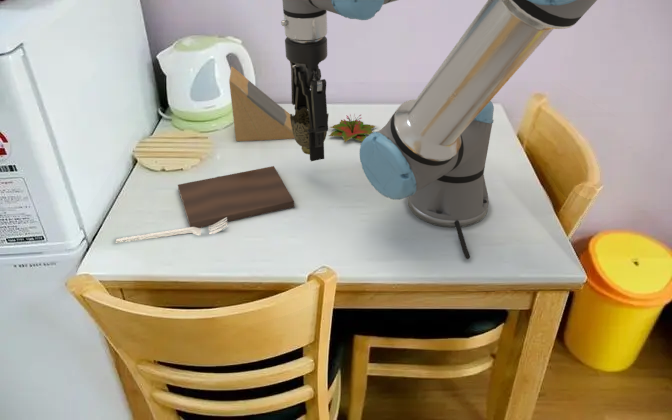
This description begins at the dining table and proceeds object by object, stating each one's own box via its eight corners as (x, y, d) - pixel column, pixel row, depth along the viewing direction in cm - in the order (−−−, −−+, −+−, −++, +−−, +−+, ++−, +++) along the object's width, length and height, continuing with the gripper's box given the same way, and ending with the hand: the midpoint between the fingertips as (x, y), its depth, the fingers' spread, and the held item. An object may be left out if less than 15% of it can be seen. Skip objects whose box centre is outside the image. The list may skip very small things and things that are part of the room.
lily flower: (337, 118, 146) (337, 101, 144) (384, 126, 143) (385, 108, 140) (319, 140, 137) (319, 122, 135) (369, 149, 134) (369, 131, 131)
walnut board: (294, 207, 115) (294, 200, 115) (190, 229, 110) (189, 223, 109) (274, 171, 126) (273, 165, 125) (178, 190, 120) (177, 184, 119)
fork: (117, 238, 108) (114, 230, 107) (227, 223, 112) (226, 215, 111) (115, 249, 106) (113, 241, 105) (229, 234, 109) (228, 225, 108)
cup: (316, 163, 115) (315, 125, 110) (285, 155, 118) (282, 118, 113) (336, 147, 120) (335, 111, 116) (305, 140, 123) (303, 104, 119)
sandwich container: (302, 138, 138) (300, 77, 129) (235, 141, 137) (228, 80, 128) (300, 121, 145) (298, 62, 136) (237, 124, 144) (230, 65, 135)
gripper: (270, 23, 112) (278, 132, 125) (303, 58, 97) (309, 178, 110) (307, 18, 115) (311, 126, 128) (346, 51, 99) (346, 170, 112)
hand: (310, 150), depth 119 cm, fingers closed on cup, 7 cm apart
